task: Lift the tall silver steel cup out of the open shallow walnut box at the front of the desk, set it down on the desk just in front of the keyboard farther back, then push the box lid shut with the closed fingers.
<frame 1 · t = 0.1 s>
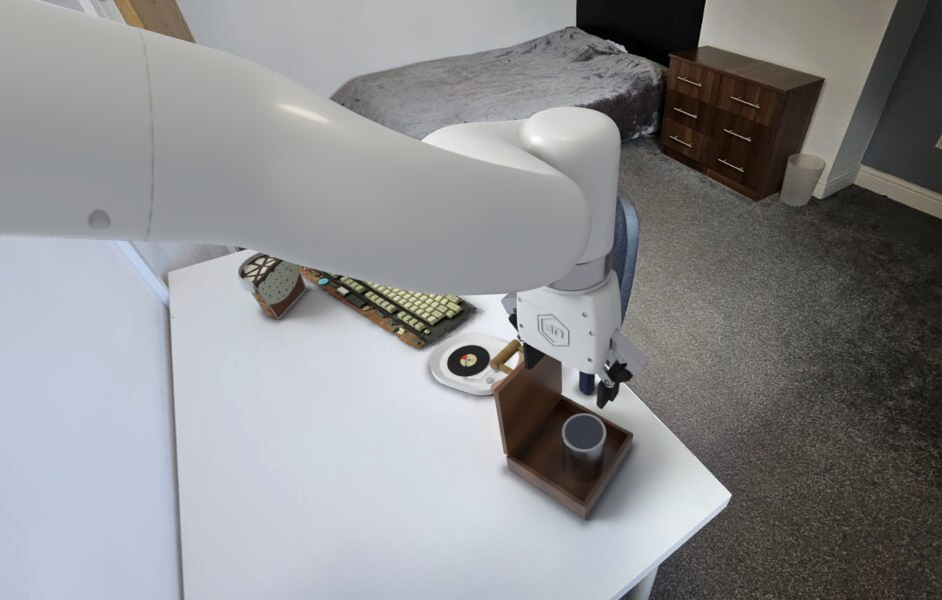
hand: (569, 379, 53), 22 cm above the table, tool pointing down, fingers open, 9 cm apart
eraser: (586, 390, 79), on the table
storage box: (571, 458, 70), on the table
food container: (279, 303, 94), on the table
lid: (519, 384, 66), point 11 cm above the table, hinge at 90.0°
steel cup: (582, 463, 68), point 1 cm above the table, touching storage box
keyboard: (376, 287, 98), on the table
record player: (486, 369, 82), on the table
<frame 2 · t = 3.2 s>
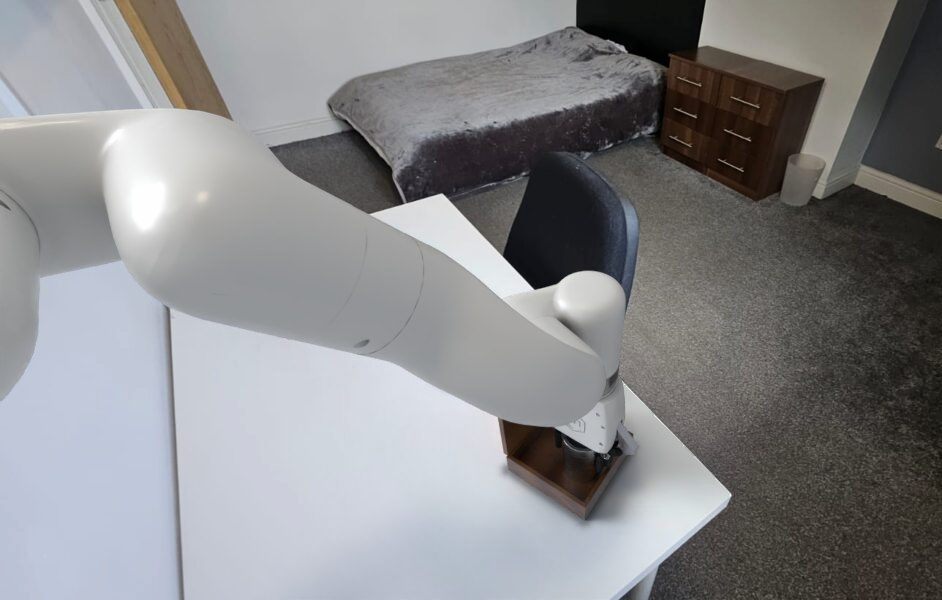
hand: (583, 451, 66), 4 cm above the table, tool pointing down, fingers closed on steel cup, 6 cm apart
steel cup: (582, 463, 68), point 1 cm above the table, touching gripper, storage box
everything else where it was.
when the fingers open (3 cm above the table, at t = 14.1 s): steel cup stays where it is, on the table.
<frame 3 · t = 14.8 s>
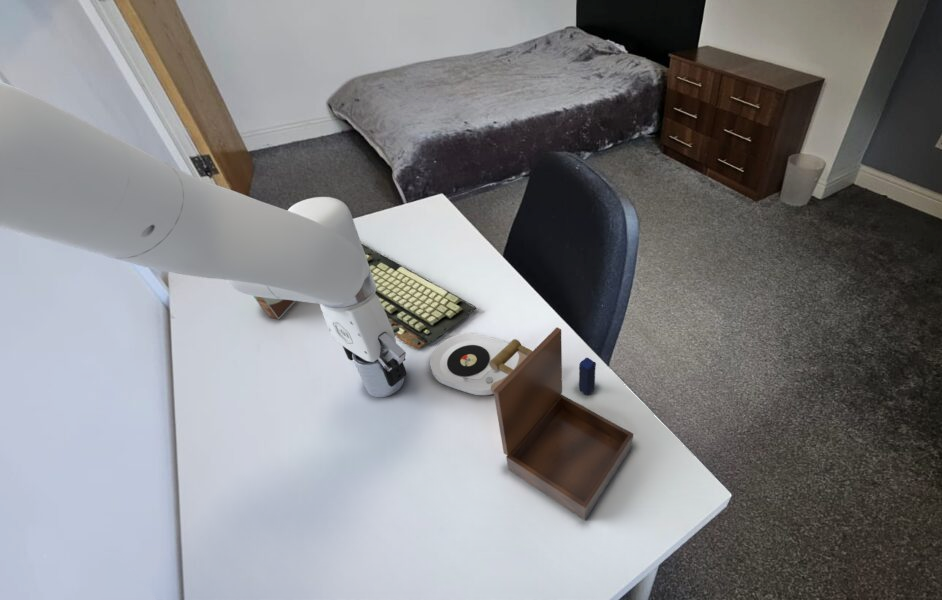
hand: (377, 367, 76), 4 cm above the table, tool pointing down, fingers open, 9 cm apart
steel cup: (385, 382, 79), on the table
everything else where it was.
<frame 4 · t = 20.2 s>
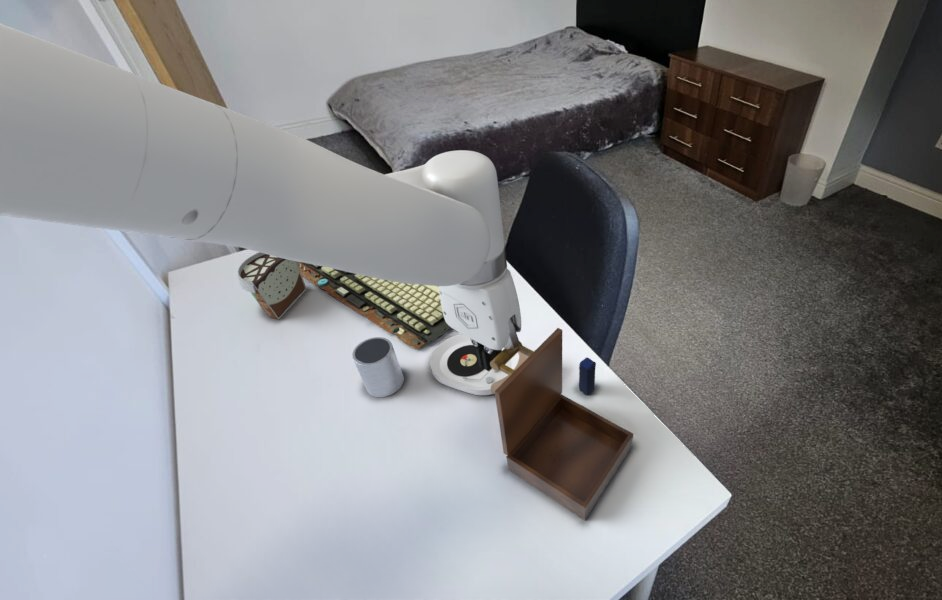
hand: (491, 362, 67), 12 cm above the table, tool pointing down, fingers closed
lid: (519, 384, 66), point 11 cm above the table, hinge at 89.2°, touching gripper
everything else where it was.
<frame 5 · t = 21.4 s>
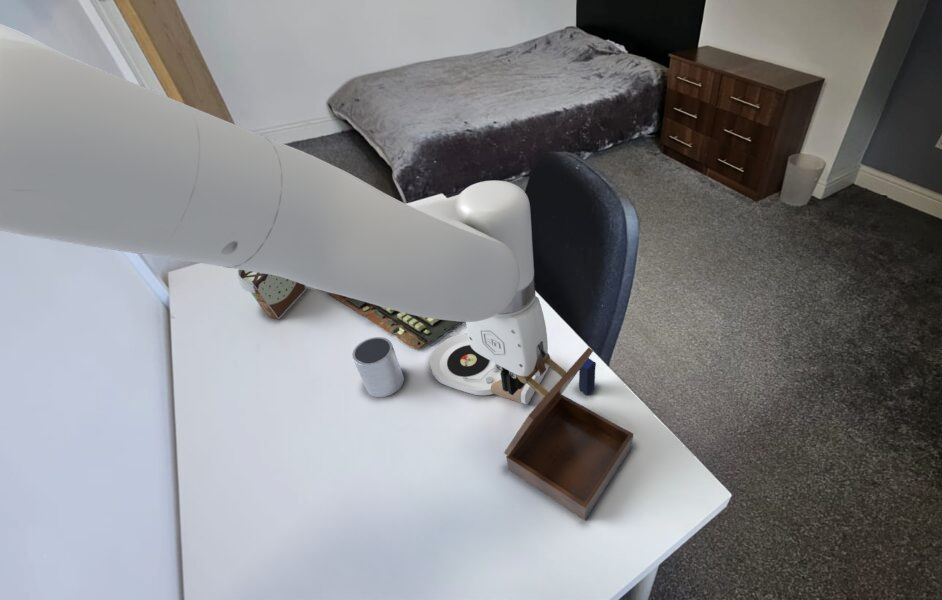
hand: (514, 386, 67), 10 cm above the table, tool pointing down, fingers closed
lid: (535, 391, 64), point 11 cm above the table, hinge at 67.9°
everything else where it was.
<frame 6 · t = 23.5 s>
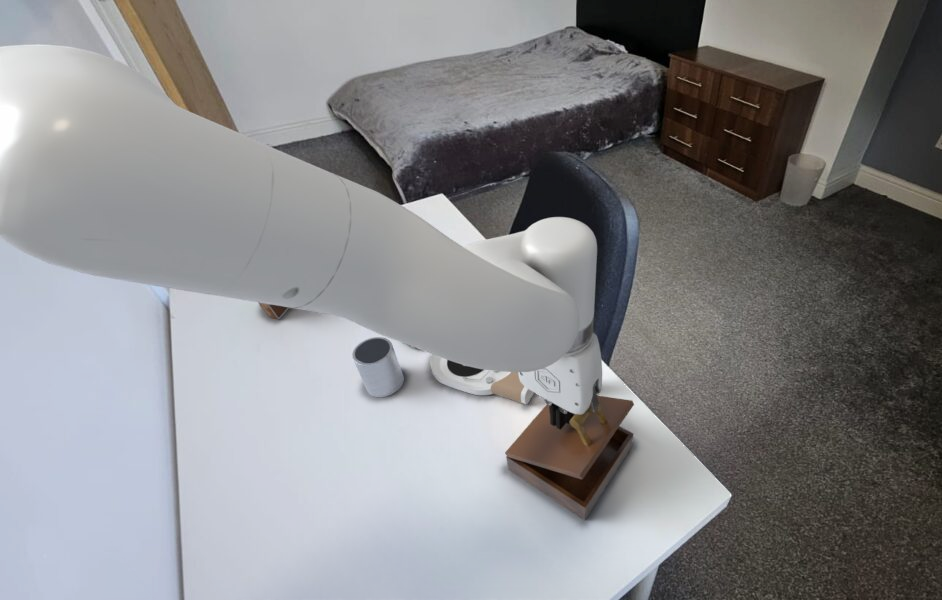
hand: (561, 419, 65), 8 cm above the table, tool pointing down, fingers closed
lid: (562, 416, 64), point 9 cm above the table, hinge at 27.5°, touching gripper
everything else where it was.
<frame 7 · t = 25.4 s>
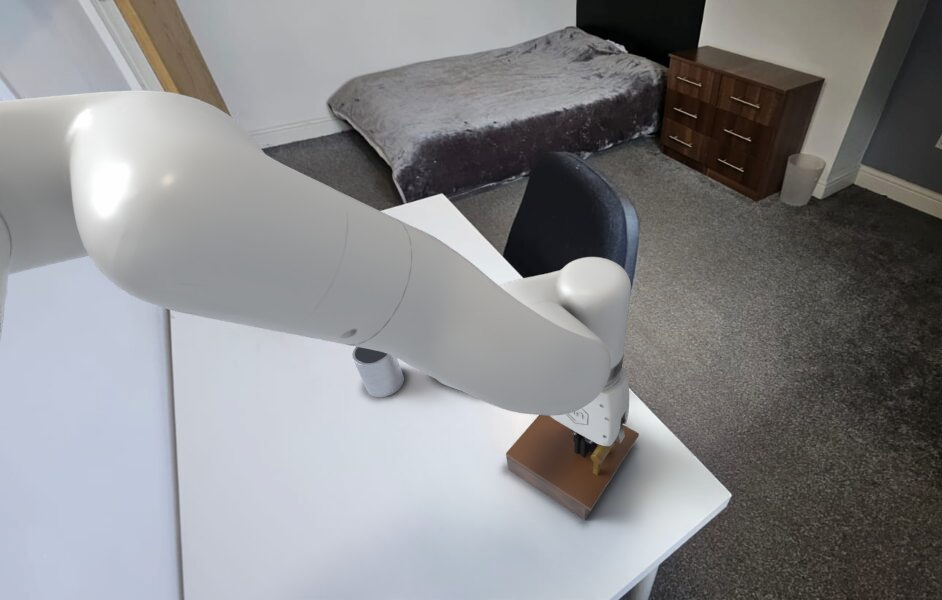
hand: (585, 447, 65), 5 cm above the table, tool pointing down, fingers closed
lid: (574, 435, 65), point 6 cm above the table, hinge at -0.2°, touching gripper, storage box
everything else where it was.
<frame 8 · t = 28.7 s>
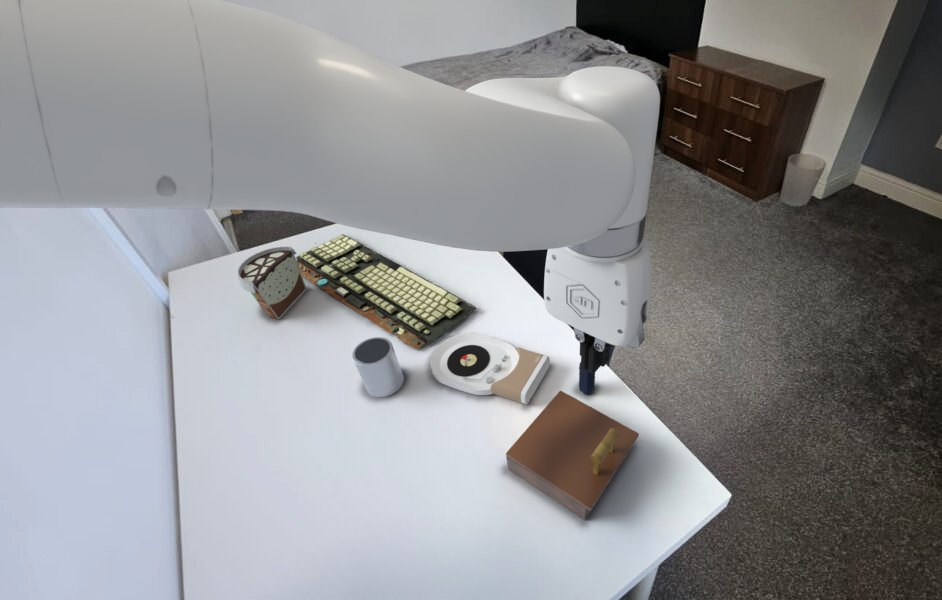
hand: (594, 363, 53), 23 cm above the table, tool pointing down, fingers closed
lid: (574, 435, 65), point 6 cm above the table, hinge at -0.2°
everything else where it was.
at the end: steel cup 0.3 cm from the target spot on the table beside the keyboard, on the table; steel cup tilted 0°; lid at +0° (first picture: +90°) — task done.
